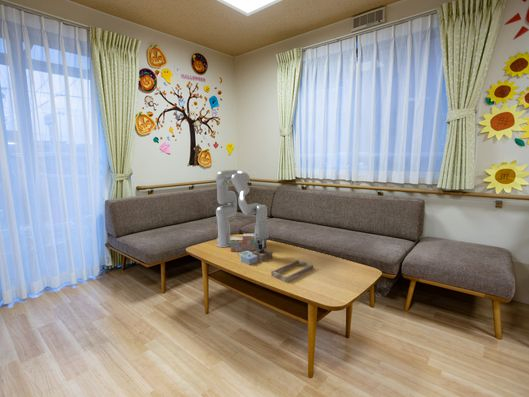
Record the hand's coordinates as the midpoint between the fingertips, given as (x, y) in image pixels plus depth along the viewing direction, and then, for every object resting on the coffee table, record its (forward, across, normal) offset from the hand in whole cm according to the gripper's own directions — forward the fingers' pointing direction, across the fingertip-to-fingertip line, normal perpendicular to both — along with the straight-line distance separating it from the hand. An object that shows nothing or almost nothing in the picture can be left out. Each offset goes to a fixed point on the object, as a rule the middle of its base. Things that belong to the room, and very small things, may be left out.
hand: (262, 248), depth 193 cm
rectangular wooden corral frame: (+7, +4, +31) cm, 32 cm away
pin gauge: (+3, 0, 0) cm, 3 cm away
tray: (+7, +6, -10) cm, 14 cm away
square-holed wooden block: (+7, 0, 0) cm, 7 cm away
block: (+7, +11, -1) cm, 13 cm away
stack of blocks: (+7, -2, -20) cm, 21 cm away
